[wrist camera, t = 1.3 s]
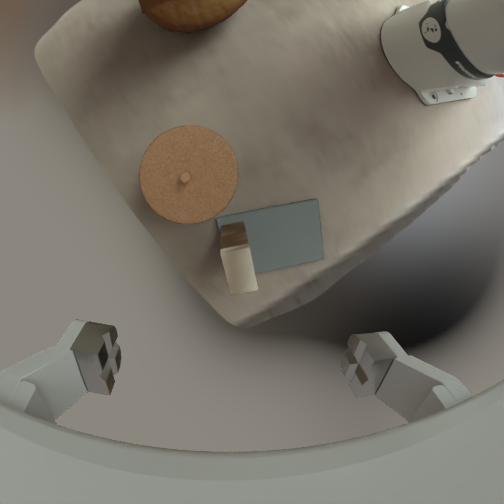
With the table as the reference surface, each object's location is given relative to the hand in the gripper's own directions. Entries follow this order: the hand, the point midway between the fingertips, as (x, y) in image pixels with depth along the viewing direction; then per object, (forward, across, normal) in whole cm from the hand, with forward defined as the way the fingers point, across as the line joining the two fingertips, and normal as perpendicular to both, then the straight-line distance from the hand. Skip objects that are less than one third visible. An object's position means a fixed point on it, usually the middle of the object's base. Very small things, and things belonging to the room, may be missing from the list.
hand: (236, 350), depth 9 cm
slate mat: (+30, -7, +5) cm, 31 cm away
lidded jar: (+30, +4, -4) cm, 31 cm away
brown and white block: (+29, -2, +6) cm, 30 cm away
